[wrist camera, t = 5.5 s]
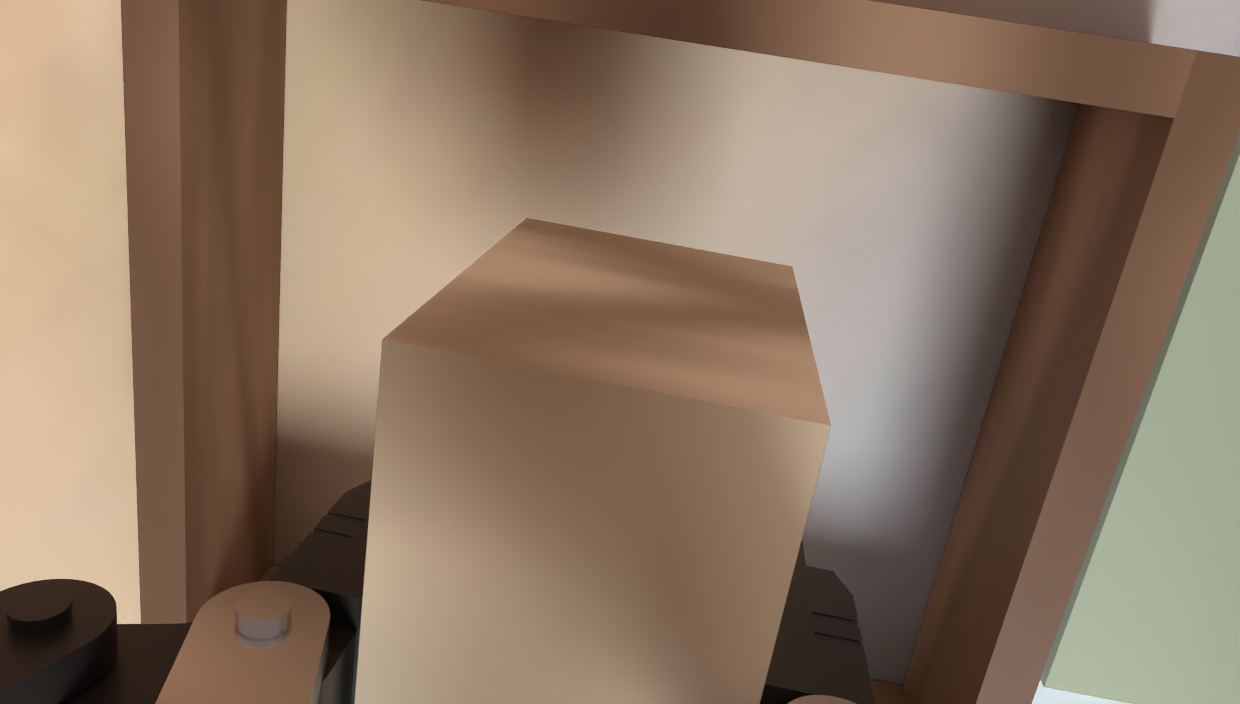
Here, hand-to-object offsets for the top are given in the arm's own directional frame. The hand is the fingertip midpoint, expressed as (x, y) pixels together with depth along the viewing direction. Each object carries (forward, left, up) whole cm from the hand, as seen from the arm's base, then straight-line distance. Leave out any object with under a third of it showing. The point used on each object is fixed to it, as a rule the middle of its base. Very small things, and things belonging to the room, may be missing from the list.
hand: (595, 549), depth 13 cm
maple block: (0, 0, -2) cm, 2 cm away
